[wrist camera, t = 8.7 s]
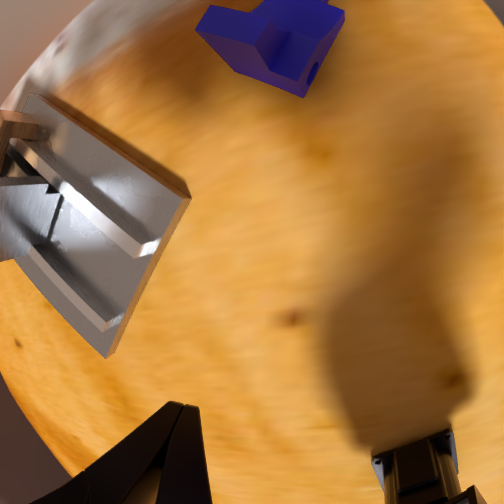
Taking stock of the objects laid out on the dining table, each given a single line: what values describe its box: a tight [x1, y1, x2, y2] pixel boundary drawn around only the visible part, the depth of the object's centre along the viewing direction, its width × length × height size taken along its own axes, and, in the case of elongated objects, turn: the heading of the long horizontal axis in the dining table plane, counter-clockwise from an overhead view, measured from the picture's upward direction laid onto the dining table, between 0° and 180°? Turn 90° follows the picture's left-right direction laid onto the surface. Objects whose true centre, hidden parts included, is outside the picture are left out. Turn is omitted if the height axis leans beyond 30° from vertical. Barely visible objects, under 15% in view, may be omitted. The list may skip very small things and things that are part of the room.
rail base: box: [0, 93, 192, 359], centre depth 19 cm, size 19×14×5 cm
